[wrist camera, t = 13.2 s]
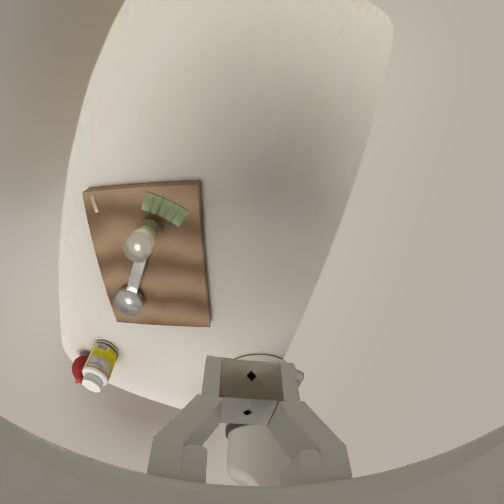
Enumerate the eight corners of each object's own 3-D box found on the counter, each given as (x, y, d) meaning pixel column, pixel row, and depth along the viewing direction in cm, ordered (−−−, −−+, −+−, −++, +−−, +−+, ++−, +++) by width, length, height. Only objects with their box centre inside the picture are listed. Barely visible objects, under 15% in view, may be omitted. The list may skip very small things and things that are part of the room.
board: (211, 318, 46) (209, 327, 44) (120, 314, 46) (116, 322, 44) (199, 180, 35) (197, 185, 33) (89, 188, 35) (81, 192, 33)
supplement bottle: (107, 359, 53) (92, 395, 44) (90, 341, 50) (72, 378, 41) (124, 354, 52) (109, 393, 43) (106, 336, 49) (89, 375, 40)
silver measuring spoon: (140, 312, 42) (129, 340, 37) (116, 302, 41) (102, 328, 36) (170, 223, 35) (157, 246, 30) (140, 210, 34) (121, 231, 29)
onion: (87, 345, 51) (74, 373, 44) (106, 362, 53) (95, 390, 46) (75, 351, 52) (62, 378, 45) (92, 367, 55) (81, 393, 48)
